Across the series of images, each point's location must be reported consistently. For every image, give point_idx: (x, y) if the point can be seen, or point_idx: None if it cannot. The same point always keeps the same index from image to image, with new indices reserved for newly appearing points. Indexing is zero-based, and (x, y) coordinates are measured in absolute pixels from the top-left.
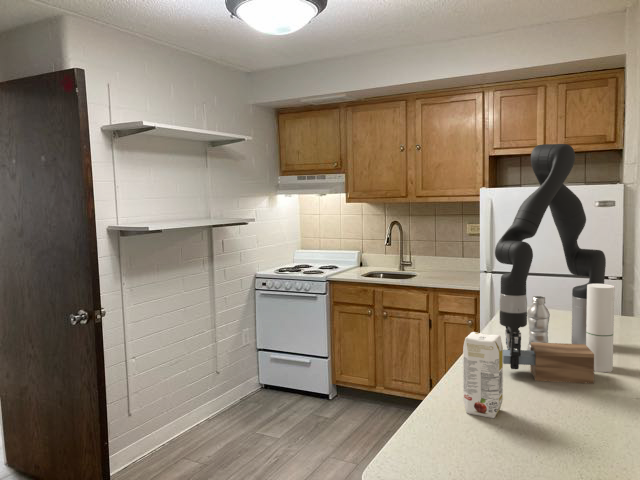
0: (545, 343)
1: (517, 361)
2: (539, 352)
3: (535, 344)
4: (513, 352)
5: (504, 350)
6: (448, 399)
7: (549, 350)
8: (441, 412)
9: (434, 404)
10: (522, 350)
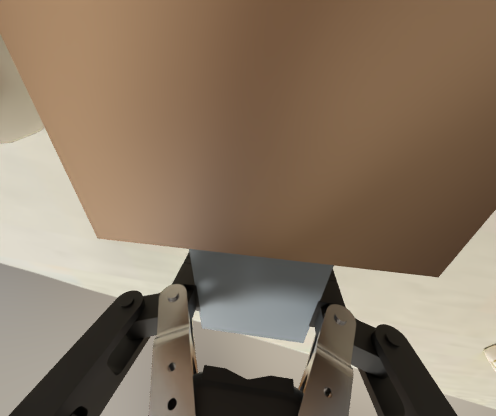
0: (46, 64)
1: (339, 289)
2: (457, 245)
3: (159, 215)
4: (388, 377)
5: (215, 322)
6: (427, 369)
7: (460, 96)
8: (492, 385)
9: (444, 385)
10: (196, 258)
